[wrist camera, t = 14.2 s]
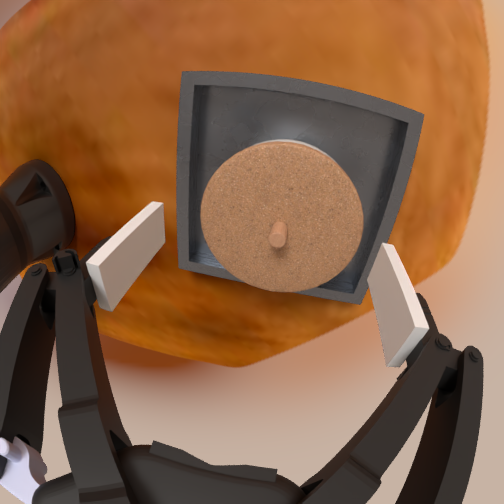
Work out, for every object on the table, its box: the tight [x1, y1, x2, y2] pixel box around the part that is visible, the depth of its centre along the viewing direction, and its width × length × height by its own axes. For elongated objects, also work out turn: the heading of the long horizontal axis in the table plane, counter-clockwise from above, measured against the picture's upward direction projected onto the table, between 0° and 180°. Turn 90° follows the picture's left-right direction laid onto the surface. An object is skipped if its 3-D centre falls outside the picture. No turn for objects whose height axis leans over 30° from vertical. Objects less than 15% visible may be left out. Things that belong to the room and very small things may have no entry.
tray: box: [177, 71, 424, 305], centre depth 23 cm, size 19×19×3 cm
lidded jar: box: [200, 139, 363, 292], centre depth 20 cm, size 11×11×9 cm
